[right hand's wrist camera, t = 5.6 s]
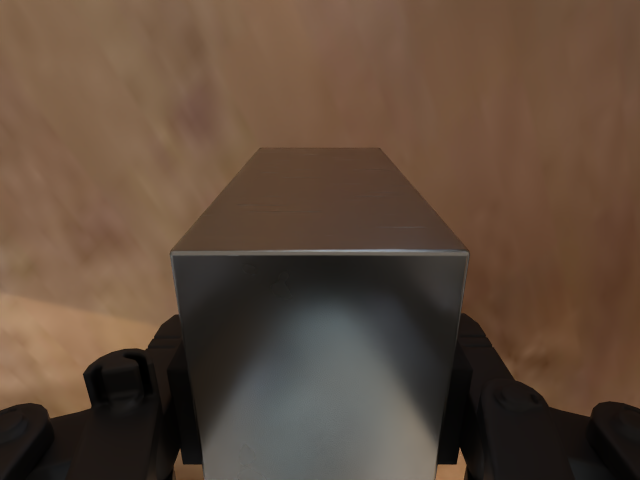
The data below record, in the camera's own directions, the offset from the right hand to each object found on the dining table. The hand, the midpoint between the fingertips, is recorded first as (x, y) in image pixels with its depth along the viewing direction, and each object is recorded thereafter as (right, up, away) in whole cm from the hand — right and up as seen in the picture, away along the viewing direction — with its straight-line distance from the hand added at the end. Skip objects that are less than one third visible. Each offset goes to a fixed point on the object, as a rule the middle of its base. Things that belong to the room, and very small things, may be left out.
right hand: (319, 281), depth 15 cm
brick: (0, +1, +3) cm, 3 cm away
